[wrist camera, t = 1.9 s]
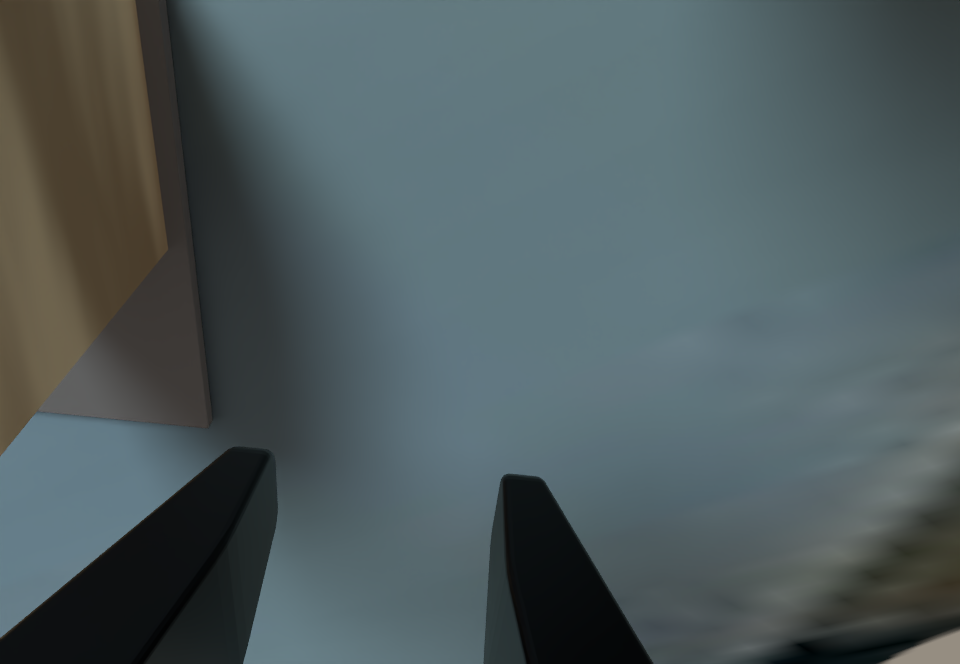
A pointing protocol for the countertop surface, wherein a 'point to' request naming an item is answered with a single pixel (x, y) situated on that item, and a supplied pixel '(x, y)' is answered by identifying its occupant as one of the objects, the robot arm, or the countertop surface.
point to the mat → (151, 289)
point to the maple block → (69, 188)
